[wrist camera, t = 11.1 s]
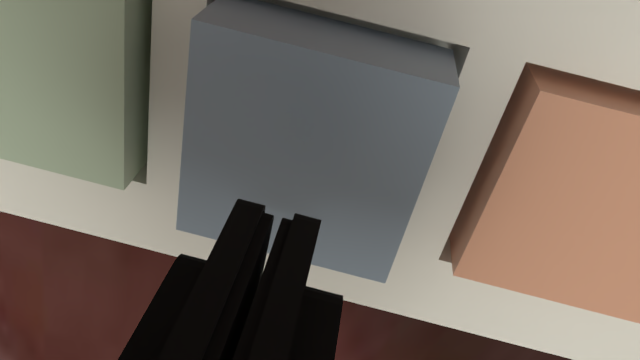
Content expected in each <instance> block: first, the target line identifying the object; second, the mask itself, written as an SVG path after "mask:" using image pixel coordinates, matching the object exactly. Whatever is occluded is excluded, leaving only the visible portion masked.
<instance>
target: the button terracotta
mask: <svg viewBox="0 0 640 360" xmlns="http://www.w3.org/2000/svg"><path fill="white" fill-rule="evenodd" d="M449 238H450V249H451V260H452V271H453V276H457V277H461V278H465V279H469V280H473V281H477V282H481V283H484V284H488V285H492V286H496V287H500V288H504V289H508V290H512V291H515V292H519V293H523V294H527V295H531V296H535V297H539V298H543V299H546V300H550V301H554V302H558V303H562V304H566V305H570V306H574V307H577V308H581V309H585V310H589V311H593V312H597V313H601V314H604V315H608V316H612V317H616V318H620V319H624V320H628V321H632V322H635V323H639V324H640V91H639V90H635V89H631V88H627V87H623V86H619V85H615V84H612V83H608V82H604V81H600V80H596V79H592V78H588V77H584V76H580V75H576V74H572V73H568V72H564V71H560V70H556V69H552V68H548V67H544V66H541V65H537V64H533V63H529V62H526V63H525V66H524V68H523V70H522V72H521V75H520V77H519V79H518V81H517V84H516V86H515V88H514V90H513V93H512V95H511V97H510V99H509V102H508V104H507V106H506V108H505V111H504V113H503V115H502V117H501V120H500V122H499V124H498V126H497V129H496V131H495V133H494V135H493V138H492V140H491V142H490V144H489V147H488V149H487V151H486V153H485V156H484V158H483V160H482V163H481V165H480V167H479V169H478V172H477V174H476V176H475V178H474V181H473V183H472V185H471V187H470V190H469V192H468V194H467V196H466V199H465V201H464V203H463V205H462V208H461V210H460V212H459V214H458V217H457V219H456V221H455V223H454V226H453V228H452V230H451V232H450V235H449Z"/></svg>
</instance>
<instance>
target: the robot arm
mask: <svg viewBox="0 0 640 360" xmlns="http://www.w3.org/2000/svg"><path fill="white" fill-rule="evenodd" d="M265 207H266V206H265V205H262V204H258V203H254V202H250V201H246V200H242V199H237V201H236V203H235V205H234V207H233V209H232V211H231V213H230V215H229V217H228V219H227V221H226V223H225V225H224V227H223V229H222V231H221V233H220V235H219V237H218V239H217V241H216V243H215V245H214V247H213V249H212V251H211V253H210V255H209V257H208V259H207V260H204V259H200V258H196V257H192V256H188V255H185V254H180V255H179V256H178V257H177V259H176V260H175V261H174V263H173V265H172V267H171V268H170V270H169V272H168V274H167V275H166V277H165V279H164V281H163V282H162V284H161V286H160V288H159V289H158V291H157V293H156V294H155V296H154V298H153V300H152V301H151V303H150V305H149V307H148V308H147V310H146V312H145V314H144V315H143V317H142V319H141V321H140V322H139V324H138V326H137V328H136V329H135V331H134V333H133V334H132V336H131V338H130V340H129V341H128V343H127V345H126V347H125V348H124V350H123V352H122V354H121V355H120V357H119V359H118V360H334V358H335V352H336V345H337V338H338V332H339V325H340V318H341V312H342V305H343V295H339V294H335V293H331V292H327V291H323V290H319V289H316V288H312V287H308V286H306V283H307V278H308V274H309V270H310V266H311V262H312V258H313V254H314V249H315V245H316V241H317V237H318V233H319V229H320V225H321V220H320V219H316V218H312V217H308V216H304V215H301V214H297V213H295V214H294V217H293V220H290V219H286V218H282V220H281V222H280V225H279V228H278V231H277V234H276V237H275V240H274V242H273V245H272V248H271V251H270V254H269V257H268V260H267V262H266V265H265V260H266V255H267V250H268V245H269V240H270V235H271V230H272V225H273V220H274V215H271V214H267V213H265ZM264 265H265V268H264ZM263 269H264V271H263Z"/></svg>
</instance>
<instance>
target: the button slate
mask: <svg viewBox="0 0 640 360" xmlns="http://www.w3.org/2000/svg"><path fill="white" fill-rule="evenodd" d="M459 89H460V85H459V79H458V74H457V69H456V64H455V58H454V53H453V49H449V48H445V47H441V46H437V45H433V44H429V43H425V42H421V41H417V40H413V39H409V38H405V37H401V36H397V35H393V34H389V33H386V32H382V31H378V30H374V29H370V28H366V27H362V26H358V25H354V24H350V23H346V22H342V21H338V20H334V19H330V18H326V17H322V16H319V15H315V14H311V13H307V12H303V11H299V10H295V9H291V8H287V7H283V6H279V5H275V4H271V3H267V2H263V1H259V0H214V1H213V2H212V3H211V4H209V5H208V6H207V7H206V8H204V9H203V10H202V11H201V12H199V13H198V14H197V15H196V16H194V17H193V18H192V19H191V30H190V43H189V57H188V71H187V85H186V98H185V112H184V126H183V140H182V153H181V167H180V181H179V195H178V208H177V222H176V230H180V231H184V232H188V233H191V234H195V235H199V236H203V237H207V238H211V239H215V240H217V239H218V237H219V235H220V233H221V231H222V229H223V227H224V225H225V223H226V221H227V219H228V217H229V215H230V213H231V211H232V209H233V207H234V205H235V203H236V201H237V199H242V200H246V201H250V202H254V203H258V204H262V205H265V206H266V207H265V213H267V214H271V215H274V220H273V225H272V230H271V235H270V240H269V245H268V250H267V253H269V254H270V251H271V248H272V245H273V242H274V240H275V237H276V234H277V231H278V228H279V225H280V222H281V220H282V218H286V219H290V220H293V217H294V214H295V213H297V214H301V215H304V216H308V217H312V218H316V219H320V220H321V225H320V229H319V233H318V237H317V241H316V245H315V249H314V254H313V258H312V262H311V265H315V266H319V267H323V268H327V269H331V270H334V271H338V272H342V273H346V274H350V275H354V276H358V277H362V278H365V279H369V280H373V281H377V282H381V283H386V280H387V278H388V275H389V272H390V270H391V267H392V264H393V262H394V259H395V257H396V254H397V251H398V249H399V246H400V243H401V241H402V238H403V236H404V233H405V230H406V228H407V225H408V222H409V220H410V217H411V215H412V212H413V209H414V207H415V204H416V201H417V199H418V196H419V194H420V191H421V188H422V186H423V183H424V181H425V178H426V175H427V173H428V170H429V167H430V165H431V162H432V160H433V157H434V154H435V152H436V149H437V146H438V144H439V141H440V139H441V136H442V133H443V131H444V128H445V125H446V123H447V120H448V118H449V115H450V112H451V110H452V107H453V105H454V102H455V99H456V97H457V94H458V91H459Z"/></svg>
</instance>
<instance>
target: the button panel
mask: <svg viewBox="0 0 640 360" xmlns="http://www.w3.org/2000/svg"><path fill="white" fill-rule="evenodd" d="M213 1H214V0H152V25H151V57H150V89H149V121H148V153H147V163H146V164H145V166H144V167H143V168H142V169H141V170H140V172H139V173H138V174H137V175H136V177H135V178H134V179H133V180H132V181H131V183H130V184H129V185H128V186H127V187H126V189H125V190H120V189H116V188H112V187H109V186H105V185H101V184H97V183H93V182H89V181H85V180H81V179H78V178H74V177H70V176H66V175H62V174H58V173H54V172H50V171H47V170H43V169H39V168H35V167H31V166H27V165H23V164H19V163H16V162H12V161H8V160H4V159H0V211H2V212H6V213H10V214H14V215H17V216H21V217H25V218H29V219H33V220H37V221H41V222H45V223H48V224H52V225H56V226H60V227H64V228H68V229H72V230H75V231H79V232H83V233H87V234H91V235H95V236H99V237H102V238H106V239H110V240H114V241H118V242H122V243H126V244H129V245H133V246H137V247H141V248H145V249H149V250H153V251H156V252H160V253H164V254H168V255H172V256H176V257H178V256H179V255H180V254H185V255H188V256H192V257H196V258H200V259H204V260H207V259H208V257H209V255H210V253H211V251H212V249H213V247H214V245H215V243H216V241H217V240H215V239H211V238H207V237H203V236H199V235H195V234H191V233H188V232H184V231H180V230H176V222H177V208H178V195H179V181H180V167H181V153H182V140H183V126H184V112H185V98H186V85H187V71H188V57H189V43H190V30H191V19H192V18H193V17H194V16H196V15H197V14H198V13H199V12H201V11H202V10H203V9H204V8H206V7H207V6H208V5H209V4H211V3H212V2H213ZM259 1H263V2H267V3H271V4H275V5H279V6H283V7H287V8H291V9H295V10H299V11H303V12H307V13H311V14H315V15H319V16H322V17H326V18H330V19H334V20H338V21H342V22H346V23H350V24H354V25H358V26H362V27H366V28H370V29H374V30H378V31H382V32H386V33H389V34H393V35H397V36H401V37H405V38H409V39H413V40H417V41H421V42H425V43H429V44H433V45H437V46H441V47H445V48H449V49H453V53H454V58H455V64H456V69H457V74H458V79H459V85H460V89H459V91H458V94H457V97H456V99H455V102H454V105H453V107H452V110H451V112H450V115H449V118H448V120H447V123H446V125H445V128H444V131H443V133H442V136H441V139H440V141H439V144H438V146H437V149H436V152H435V154H434V157H433V160H432V162H431V165H430V167H429V170H428V173H427V175H426V178H425V181H424V183H423V186H422V188H421V191H420V194H419V196H418V199H417V201H416V204H415V207H414V209H413V212H412V215H411V217H410V220H409V222H408V225H407V228H406V230H405V233H404V236H403V238H402V241H401V243H400V246H399V249H398V251H397V254H396V257H395V259H394V262H393V264H392V267H391V270H390V272H389V275H388V278H387V280H386V283H381V282H377V281H373V280H369V279H365V278H362V277H358V276H354V275H350V274H346V273H342V272H338V271H334V270H331V269H327V268H323V267H319V266H315V265H311V266H310V270H309V274H308V278H307V283H306V286H308V287H312V288H316V289H319V290H323V291H327V292H331V293H335V294H339V295H343V300H346V301H349V302H353V303H357V304H361V305H365V306H369V307H373V308H376V309H380V310H384V311H388V312H392V313H396V314H400V315H403V316H407V317H411V318H415V319H419V320H423V321H427V322H430V323H434V324H438V325H442V326H446V327H450V328H454V329H457V330H461V331H465V332H469V333H473V334H477V335H481V336H484V337H488V338H492V339H496V340H500V341H504V342H508V343H511V344H515V345H519V346H523V347H527V348H531V349H535V350H538V351H542V352H546V353H550V354H554V355H558V356H562V357H565V358H569V359H573V360H640V324H639V323H635V322H632V321H628V320H624V319H620V318H616V317H612V316H608V315H604V314H601V313H597V312H593V311H589V310H585V309H581V308H577V307H574V306H570V305H566V304H562V303H558V302H554V301H550V300H546V299H543V298H539V297H535V296H531V295H527V294H523V293H519V292H515V291H512V290H508V289H504V288H500V287H496V286H492V285H488V284H484V283H481V282H477V281H473V280H469V279H465V278H461V277H457V276H453V271H452V260H451V249H450V238H449V235H450V232H451V230H452V228H453V226H454V223H455V221H456V219H457V217H458V214H459V212H460V210H461V208H462V205H463V203H464V201H465V199H466V196H467V194H468V192H469V190H470V187H471V185H472V183H473V181H474V178H475V176H476V174H477V172H478V169H479V167H480V165H481V163H482V160H483V158H484V156H485V153H486V151H487V149H488V147H489V144H490V142H491V140H492V138H493V135H494V133H495V131H496V129H497V126H498V124H499V122H500V120H501V117H502V115H503V113H504V111H505V108H506V106H507V104H508V102H509V99H510V97H511V95H512V93H513V90H514V88H515V86H516V84H517V81H518V79H519V77H520V75H521V72H522V70H523V68H524V66H525V63H526V62H529V63H533V64H537V65H541V66H544V67H548V68H552V69H556V70H560V71H564V72H568V73H572V74H576V75H580V76H584V77H588V78H592V79H596V80H600V81H604V82H608V83H612V84H615V85H619V86H623V87H627V88H631V89H635V90H639V91H640V0H259ZM268 257H269V253H267V255H266V260H265V265H266V262H267V260H268ZM265 265H264V268H265ZM263 271H264V269H263Z"/></svg>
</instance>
